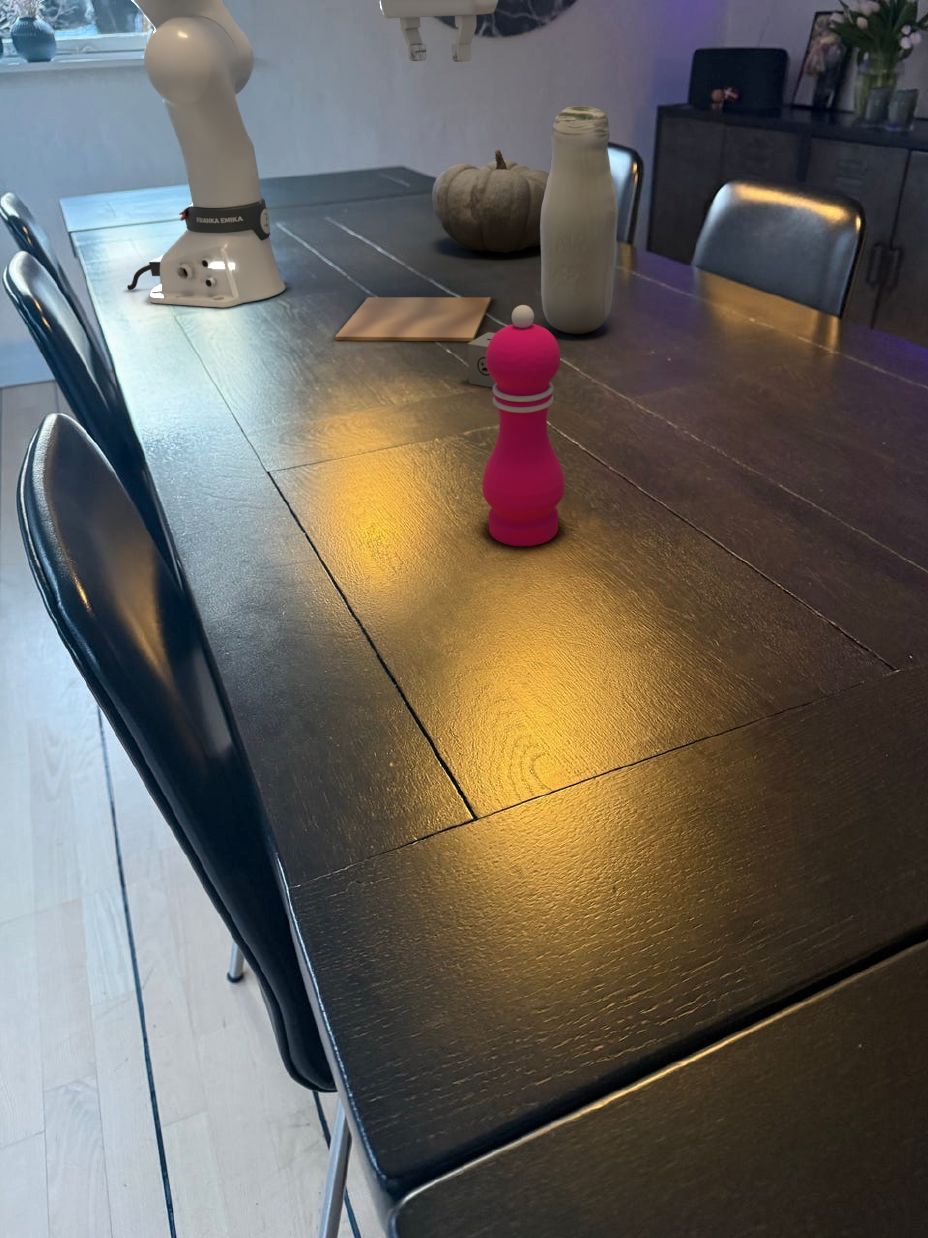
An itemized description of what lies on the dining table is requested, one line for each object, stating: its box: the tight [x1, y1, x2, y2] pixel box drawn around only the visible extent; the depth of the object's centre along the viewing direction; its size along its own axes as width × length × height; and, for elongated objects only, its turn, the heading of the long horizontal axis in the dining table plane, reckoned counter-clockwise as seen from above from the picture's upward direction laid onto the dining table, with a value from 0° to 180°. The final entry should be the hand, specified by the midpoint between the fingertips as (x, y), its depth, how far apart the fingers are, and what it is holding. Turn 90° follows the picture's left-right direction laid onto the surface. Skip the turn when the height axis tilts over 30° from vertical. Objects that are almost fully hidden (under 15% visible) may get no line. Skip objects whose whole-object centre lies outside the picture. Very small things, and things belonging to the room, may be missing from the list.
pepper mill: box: [481, 304, 565, 547], centre depth 76 cm, size 7×7×20 cm
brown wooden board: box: [335, 296, 492, 342], centre depth 135 cm, size 20×20×1 cm
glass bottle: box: [540, 105, 619, 335], centre depth 120 cm, size 10×10×28 cm
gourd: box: [431, 149, 550, 254], centre depth 168 cm, size 25×25×17 cm
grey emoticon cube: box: [467, 331, 497, 389], centre depth 111 cm, size 5×5×5 cm
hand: (439, 60), depth 111 cm, fingers open, 8 cm apart
